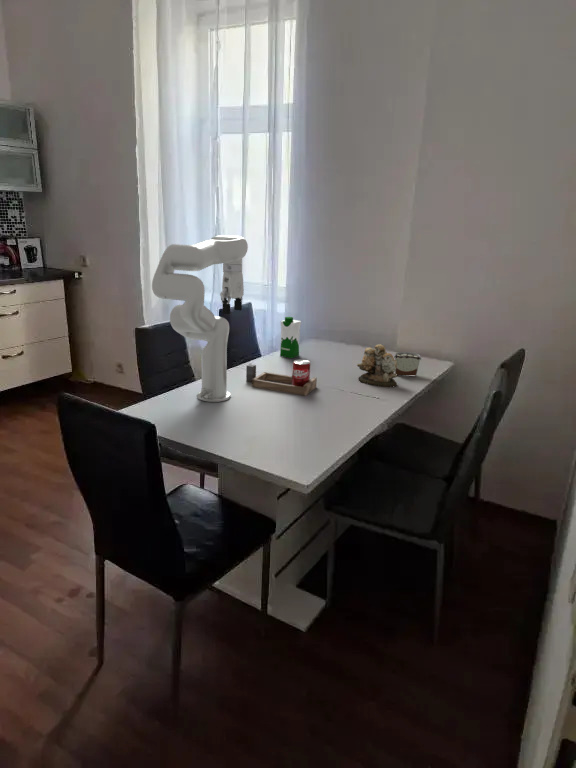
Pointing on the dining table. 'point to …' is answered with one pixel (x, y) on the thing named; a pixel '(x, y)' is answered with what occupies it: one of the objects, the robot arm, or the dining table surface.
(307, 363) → the soda can
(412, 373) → the food container
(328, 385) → the dining table surface
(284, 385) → the wooden tray frame
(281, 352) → the milk carton
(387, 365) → the owl figurine
